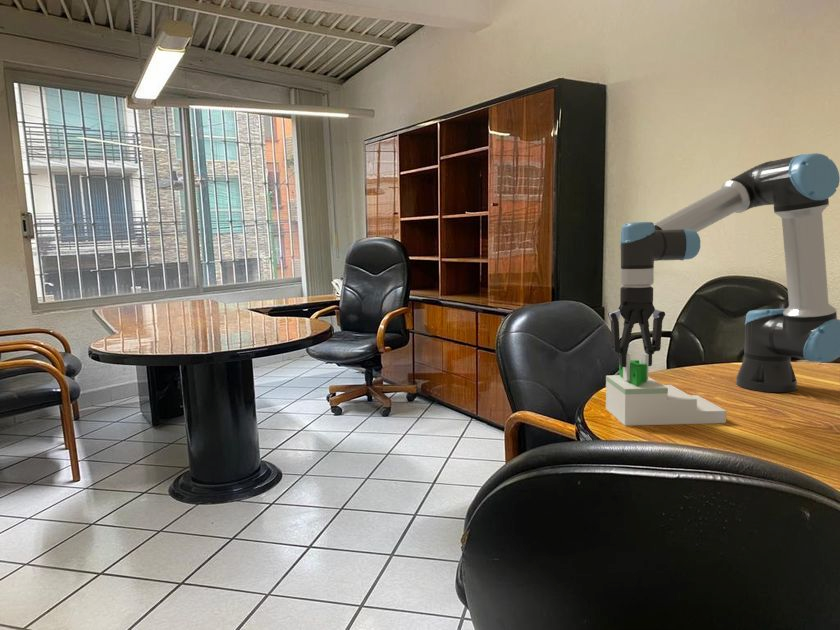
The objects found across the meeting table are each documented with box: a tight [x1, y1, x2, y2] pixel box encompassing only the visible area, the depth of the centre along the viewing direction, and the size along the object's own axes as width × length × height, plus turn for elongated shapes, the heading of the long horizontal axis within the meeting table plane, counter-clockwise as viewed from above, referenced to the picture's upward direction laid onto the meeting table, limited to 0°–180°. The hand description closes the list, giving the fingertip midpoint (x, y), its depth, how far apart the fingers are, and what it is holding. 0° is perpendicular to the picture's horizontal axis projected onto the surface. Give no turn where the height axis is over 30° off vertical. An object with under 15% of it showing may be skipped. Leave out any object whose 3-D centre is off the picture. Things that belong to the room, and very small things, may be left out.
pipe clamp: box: [618, 357, 647, 386], centre depth 136 cm, size 11×4×5 cm, turn 1°
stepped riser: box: [605, 374, 727, 427], centre depth 136 cm, size 24×14×9 cm, turn 89°
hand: (635, 379), depth 136 cm, fingers closed on pipe clamp, 4 cm apart
